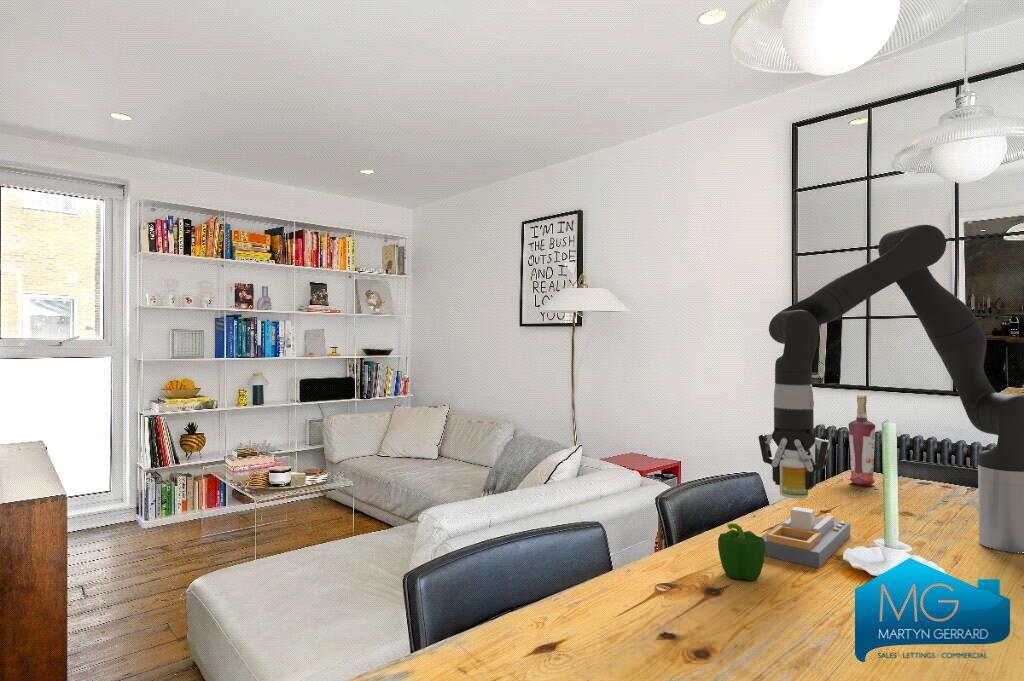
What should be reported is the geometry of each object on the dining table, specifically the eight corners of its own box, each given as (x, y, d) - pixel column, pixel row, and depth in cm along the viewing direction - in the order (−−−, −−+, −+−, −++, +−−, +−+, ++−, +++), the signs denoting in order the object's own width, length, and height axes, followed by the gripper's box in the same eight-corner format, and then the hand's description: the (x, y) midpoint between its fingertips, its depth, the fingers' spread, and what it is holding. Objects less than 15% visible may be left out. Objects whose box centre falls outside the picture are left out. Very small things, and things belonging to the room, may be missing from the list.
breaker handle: (814, 532, 128) (814, 509, 128) (810, 535, 126) (810, 512, 126) (795, 528, 131) (795, 506, 131) (790, 531, 129) (790, 509, 129)
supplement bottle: (813, 499, 121) (812, 451, 121) (786, 499, 121) (786, 451, 121) (800, 492, 126) (800, 447, 126) (775, 492, 126) (775, 447, 126)
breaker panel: (850, 536, 136) (850, 514, 136) (819, 568, 116) (819, 542, 116) (794, 525, 144) (794, 505, 144) (756, 553, 124) (756, 530, 124)
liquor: (870, 488, 181) (870, 397, 181) (845, 484, 186) (844, 395, 186) (879, 485, 185) (878, 395, 186) (854, 480, 191) (853, 394, 191)
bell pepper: (764, 571, 115) (763, 519, 115) (767, 587, 107) (766, 532, 107) (718, 565, 118) (718, 515, 118) (718, 581, 110) (717, 527, 110)
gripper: (752, 405, 126) (752, 484, 126) (826, 409, 116) (826, 495, 116) (764, 402, 131) (764, 478, 131) (836, 406, 122) (836, 489, 122)
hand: (793, 486), depth 124 cm, fingers closed on supplement bottle, 5 cm apart
